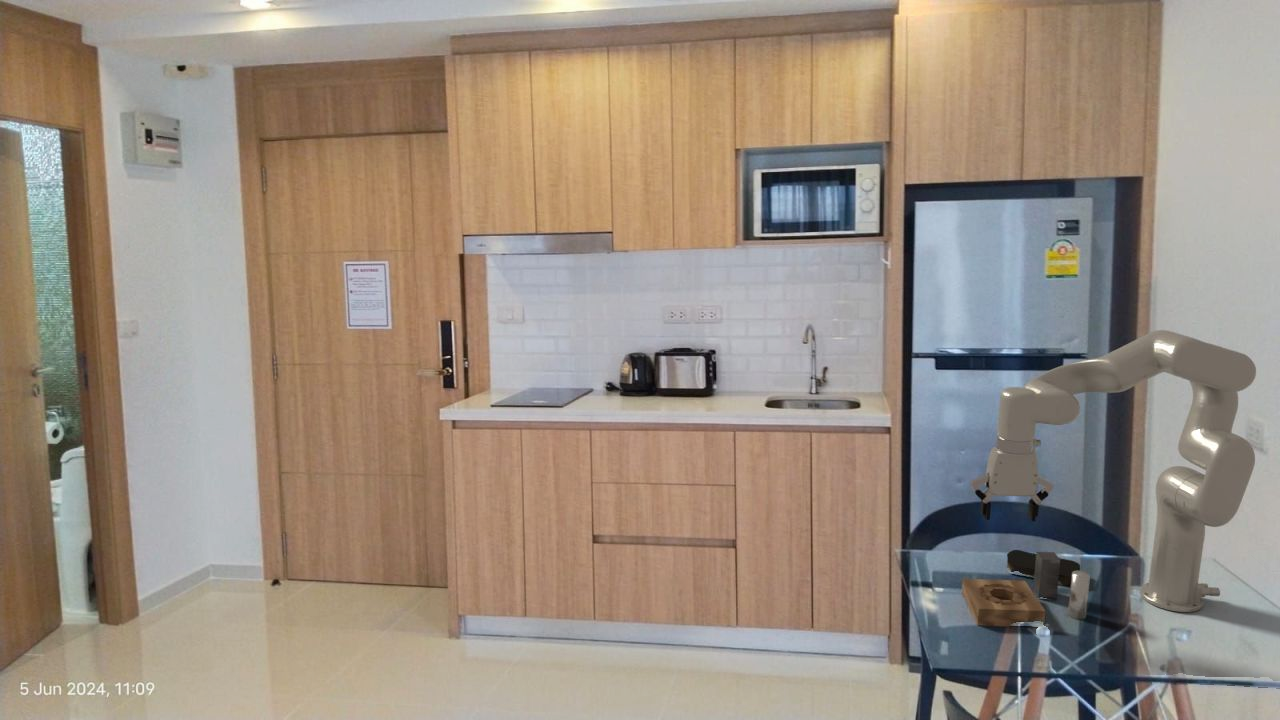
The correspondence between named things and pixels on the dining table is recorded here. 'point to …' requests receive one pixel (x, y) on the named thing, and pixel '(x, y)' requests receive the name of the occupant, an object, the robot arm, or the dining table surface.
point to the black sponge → (1026, 566)
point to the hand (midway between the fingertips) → (1008, 518)
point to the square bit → (1046, 575)
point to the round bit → (1078, 595)
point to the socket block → (1001, 602)
